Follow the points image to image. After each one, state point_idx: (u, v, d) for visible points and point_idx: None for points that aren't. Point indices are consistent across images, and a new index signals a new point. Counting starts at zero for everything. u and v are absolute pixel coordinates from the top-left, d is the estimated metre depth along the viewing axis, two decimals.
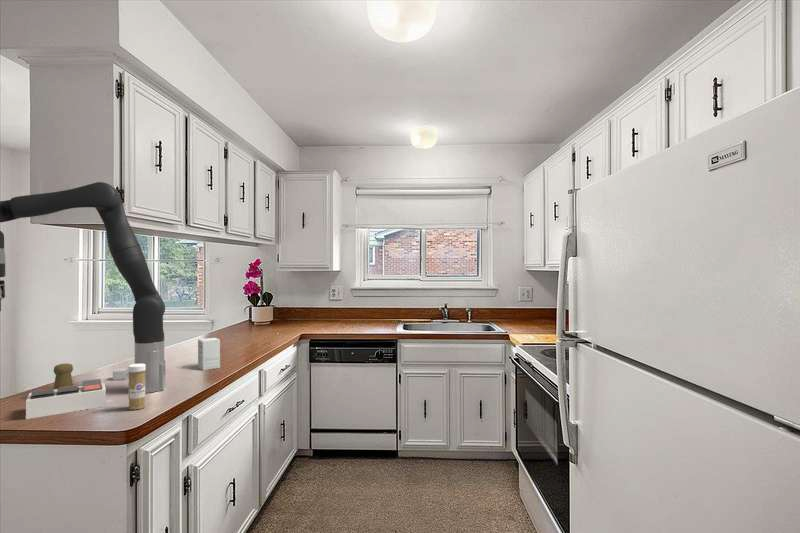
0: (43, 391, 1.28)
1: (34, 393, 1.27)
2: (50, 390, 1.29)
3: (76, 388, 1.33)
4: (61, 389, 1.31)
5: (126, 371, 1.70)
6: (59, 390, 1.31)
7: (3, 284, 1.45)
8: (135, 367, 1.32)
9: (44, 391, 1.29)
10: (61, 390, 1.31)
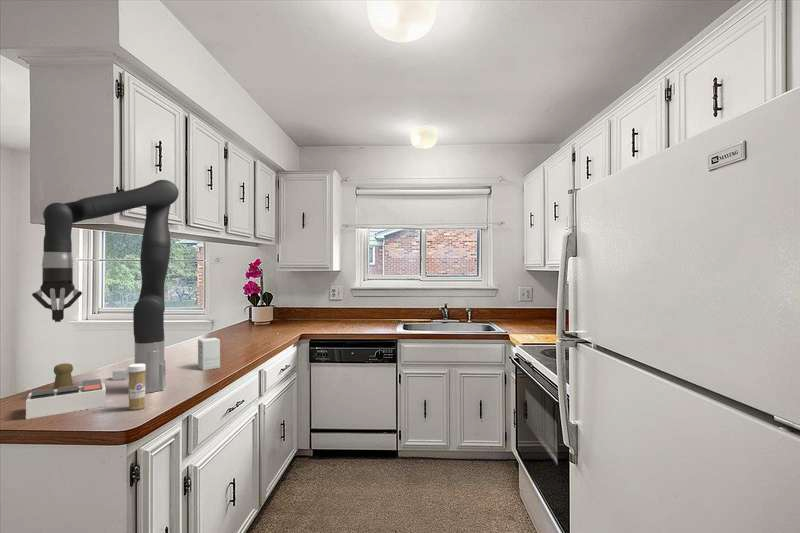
0: (43, 391, 1.28)
1: (34, 393, 1.27)
2: (50, 390, 1.29)
3: (76, 388, 1.33)
4: (61, 389, 1.31)
5: (125, 371, 1.70)
6: (59, 390, 1.31)
7: None
8: (135, 367, 1.32)
9: (44, 391, 1.29)
10: (61, 390, 1.31)
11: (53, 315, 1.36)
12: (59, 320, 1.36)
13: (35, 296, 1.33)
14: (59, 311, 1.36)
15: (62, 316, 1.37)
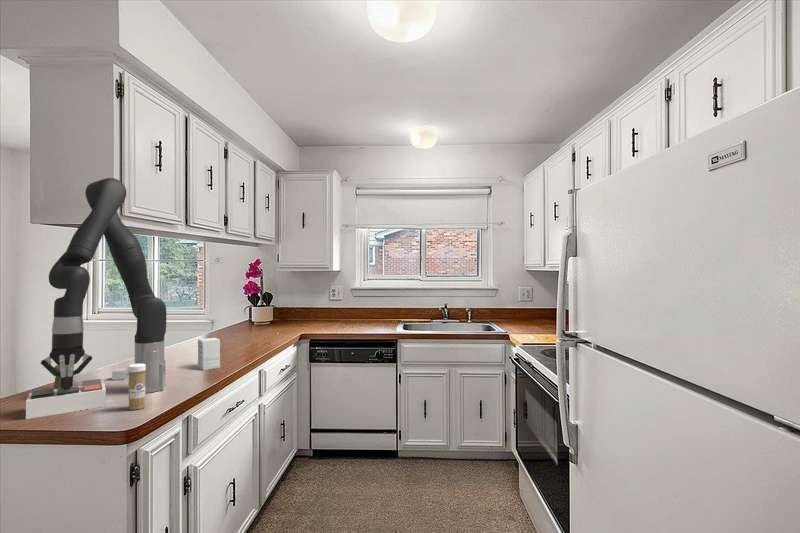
0: (43, 391, 1.28)
1: (34, 393, 1.27)
2: (50, 390, 1.29)
3: (76, 389, 1.33)
4: (61, 390, 1.31)
5: (125, 371, 1.70)
6: (59, 391, 1.30)
7: None
8: (135, 367, 1.32)
9: (44, 391, 1.29)
10: (61, 391, 1.31)
11: (62, 383, 1.30)
12: (68, 388, 1.30)
13: (44, 364, 1.27)
14: (68, 378, 1.30)
15: (71, 383, 1.31)
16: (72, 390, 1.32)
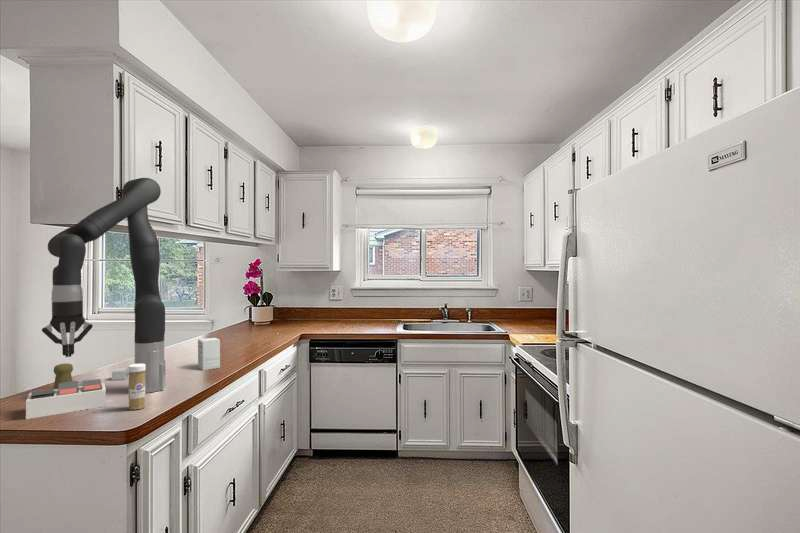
0: (43, 391, 1.28)
1: (34, 393, 1.27)
2: (50, 390, 1.29)
3: None
4: None
5: (125, 371, 1.70)
6: None
7: None
8: (135, 367, 1.32)
9: (44, 391, 1.29)
10: None
11: (63, 350, 1.31)
12: (70, 355, 1.32)
13: (45, 331, 1.28)
14: (70, 346, 1.32)
15: (73, 351, 1.33)
16: None
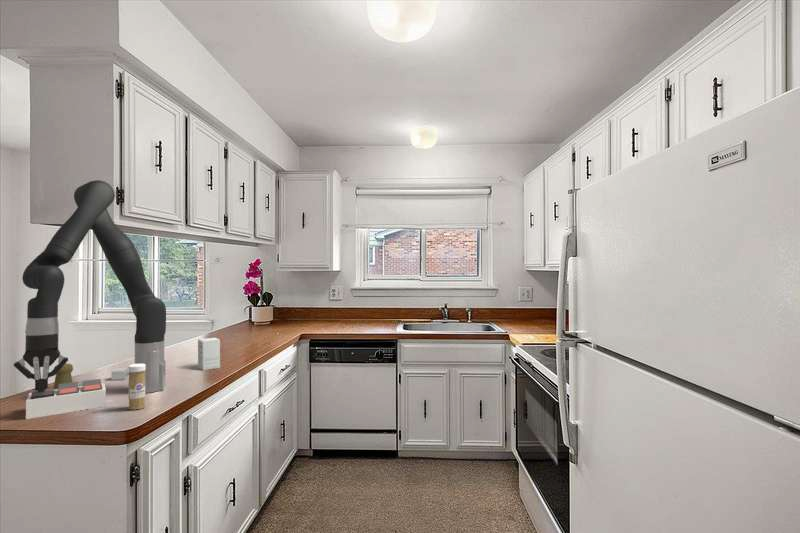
0: (43, 392, 1.28)
1: (34, 394, 1.27)
2: (50, 391, 1.29)
3: None
4: None
5: (124, 371, 1.70)
6: None
7: None
8: (135, 367, 1.32)
9: (44, 392, 1.28)
10: None
11: (36, 385, 1.27)
12: (42, 390, 1.27)
13: (17, 366, 1.24)
14: (43, 381, 1.27)
15: (46, 386, 1.28)
16: None
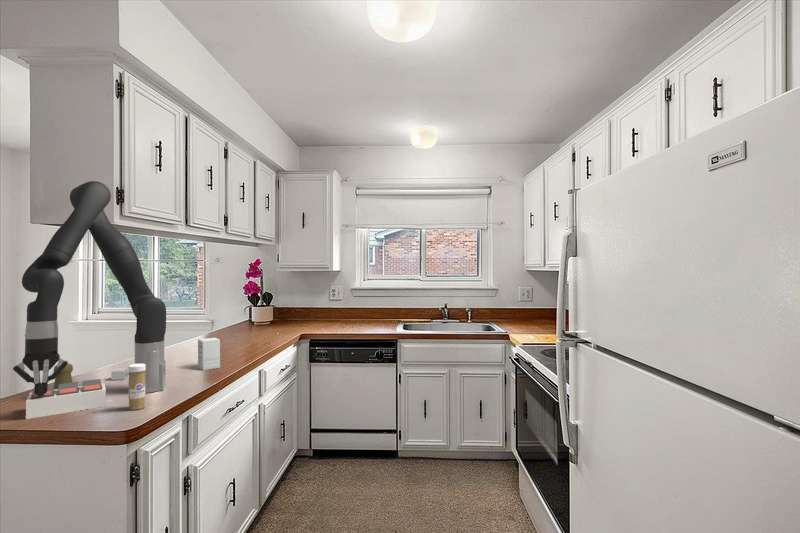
0: (43, 397, 1.28)
1: None
2: (50, 396, 1.29)
3: None
4: None
5: (124, 371, 1.70)
6: None
7: None
8: (135, 367, 1.32)
9: None
10: None
11: (36, 389, 1.26)
12: (42, 394, 1.27)
13: (16, 370, 1.24)
14: (42, 384, 1.27)
15: (46, 389, 1.28)
16: None
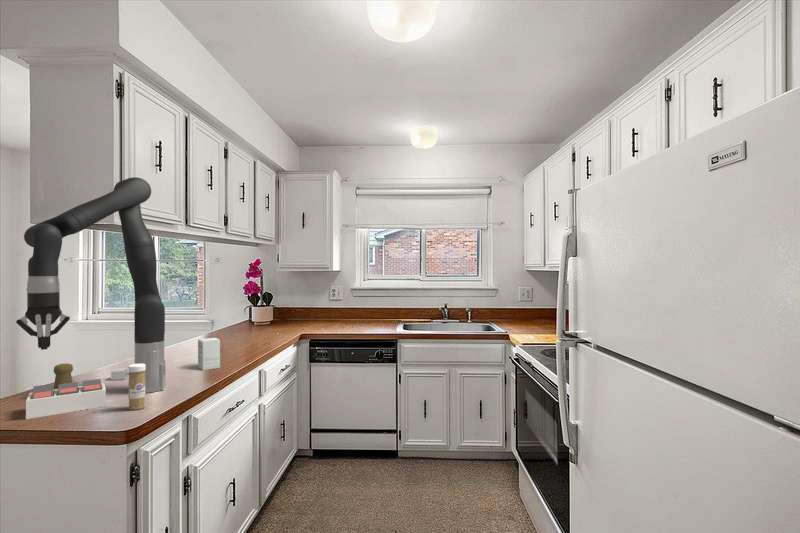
0: None
1: None
2: None
3: None
4: None
5: (124, 371, 1.70)
6: None
7: None
8: (135, 367, 1.32)
9: None
10: None
11: (39, 342, 1.28)
12: (45, 348, 1.29)
13: (19, 323, 1.26)
14: (45, 338, 1.29)
15: (49, 343, 1.30)
16: None
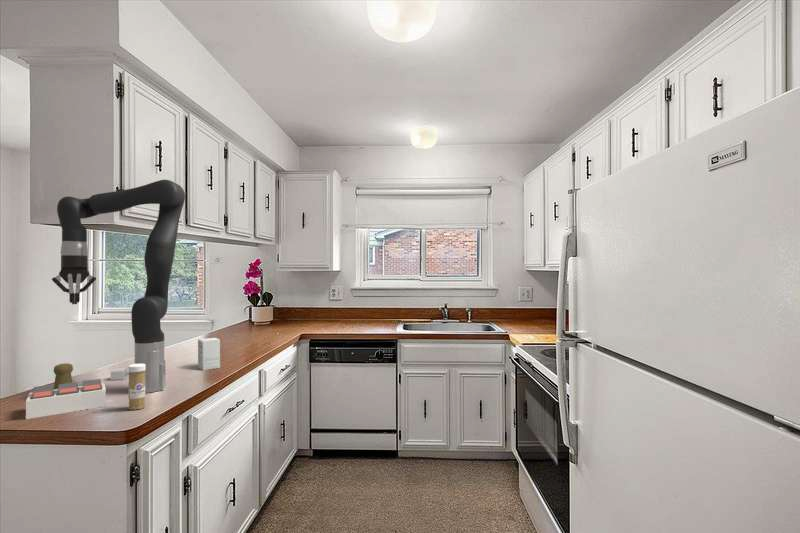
0: (43, 397, 1.28)
1: None
2: (50, 396, 1.29)
3: None
4: None
5: (124, 371, 1.70)
6: None
7: None
8: (135, 367, 1.32)
9: None
10: None
11: (70, 298, 1.51)
12: (76, 302, 1.51)
13: (54, 281, 1.48)
14: (76, 294, 1.51)
15: (78, 299, 1.52)
16: None
